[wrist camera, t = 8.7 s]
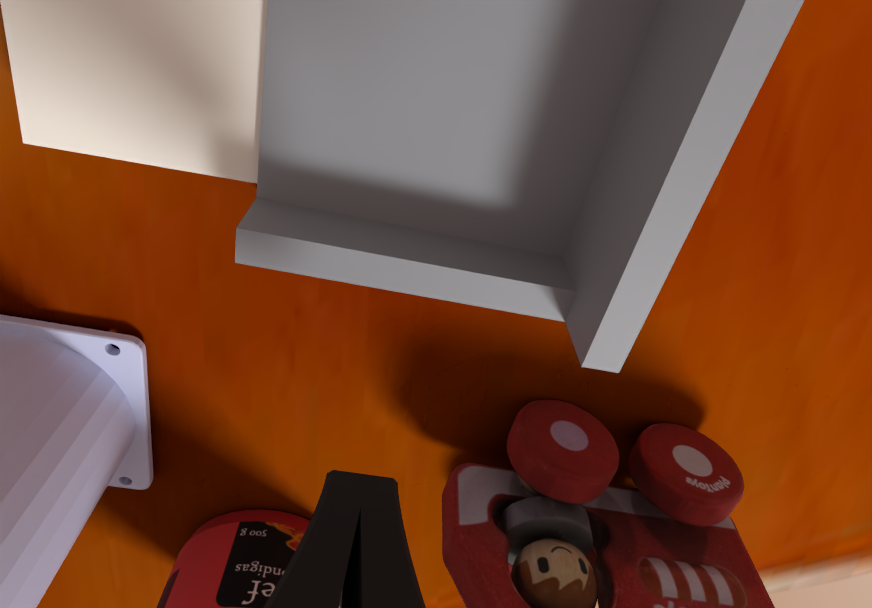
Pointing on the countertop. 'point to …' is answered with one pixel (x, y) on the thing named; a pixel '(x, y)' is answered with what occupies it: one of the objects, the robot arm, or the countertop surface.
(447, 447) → the countertop surface
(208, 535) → the canned food
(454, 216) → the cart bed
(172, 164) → the panel
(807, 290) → the countertop surface
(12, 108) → the countertop surface
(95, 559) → the countertop surface
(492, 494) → the toy fire truck
